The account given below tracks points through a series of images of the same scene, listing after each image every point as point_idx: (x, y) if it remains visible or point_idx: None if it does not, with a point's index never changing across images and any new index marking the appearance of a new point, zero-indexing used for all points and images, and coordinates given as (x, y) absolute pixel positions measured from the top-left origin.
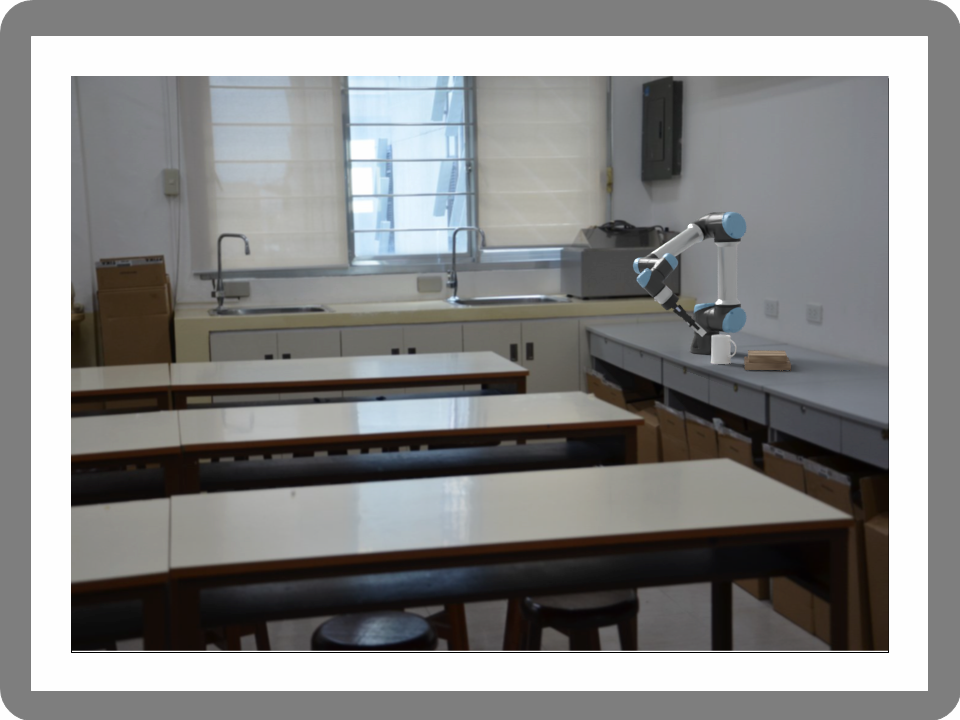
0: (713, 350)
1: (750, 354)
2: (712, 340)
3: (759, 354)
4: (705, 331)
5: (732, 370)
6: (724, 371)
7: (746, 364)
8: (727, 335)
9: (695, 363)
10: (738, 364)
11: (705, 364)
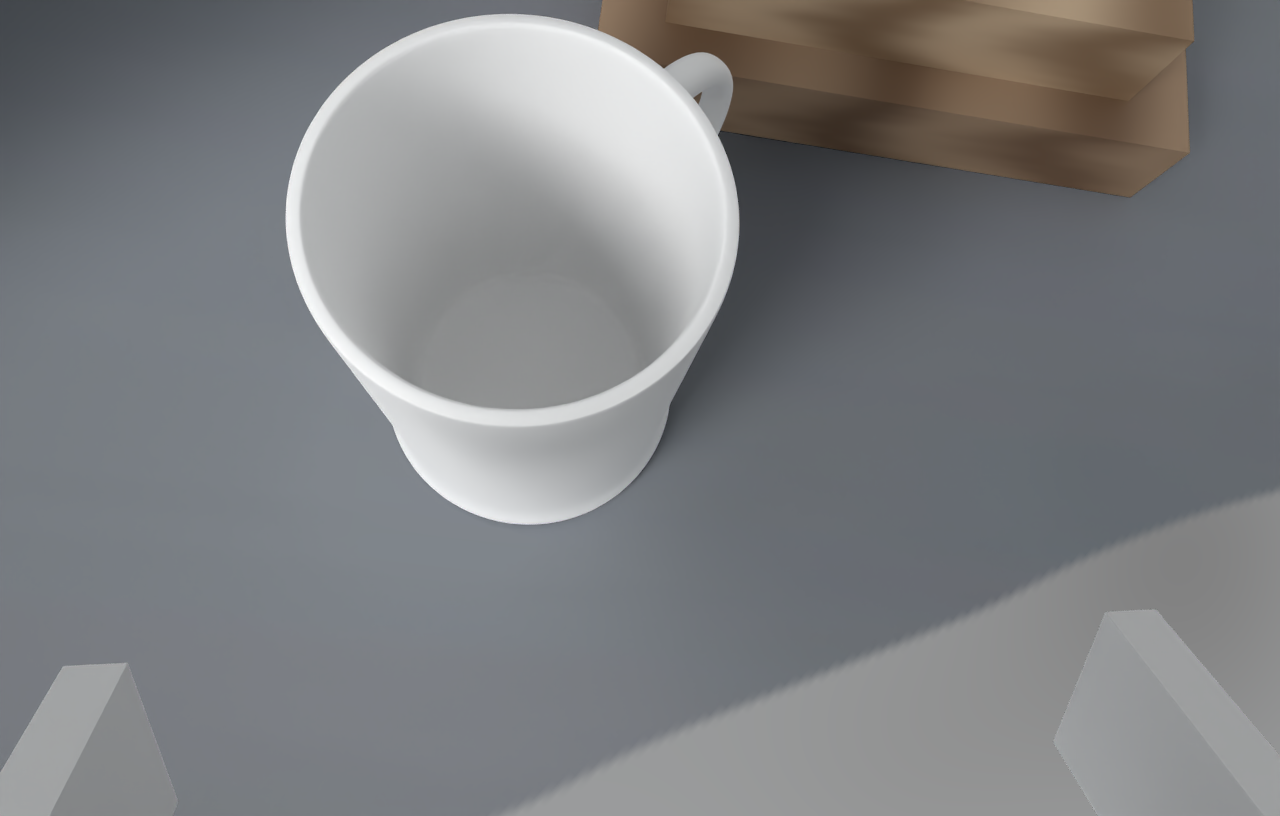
0: (613, 459)
1: (1096, 2)
2: (591, 437)
3: None
4: (1182, 646)
5: (1128, 331)
6: (1212, 435)
7: (1179, 144)
8: (406, 59)
9: (533, 760)
10: None
11: (640, 614)
